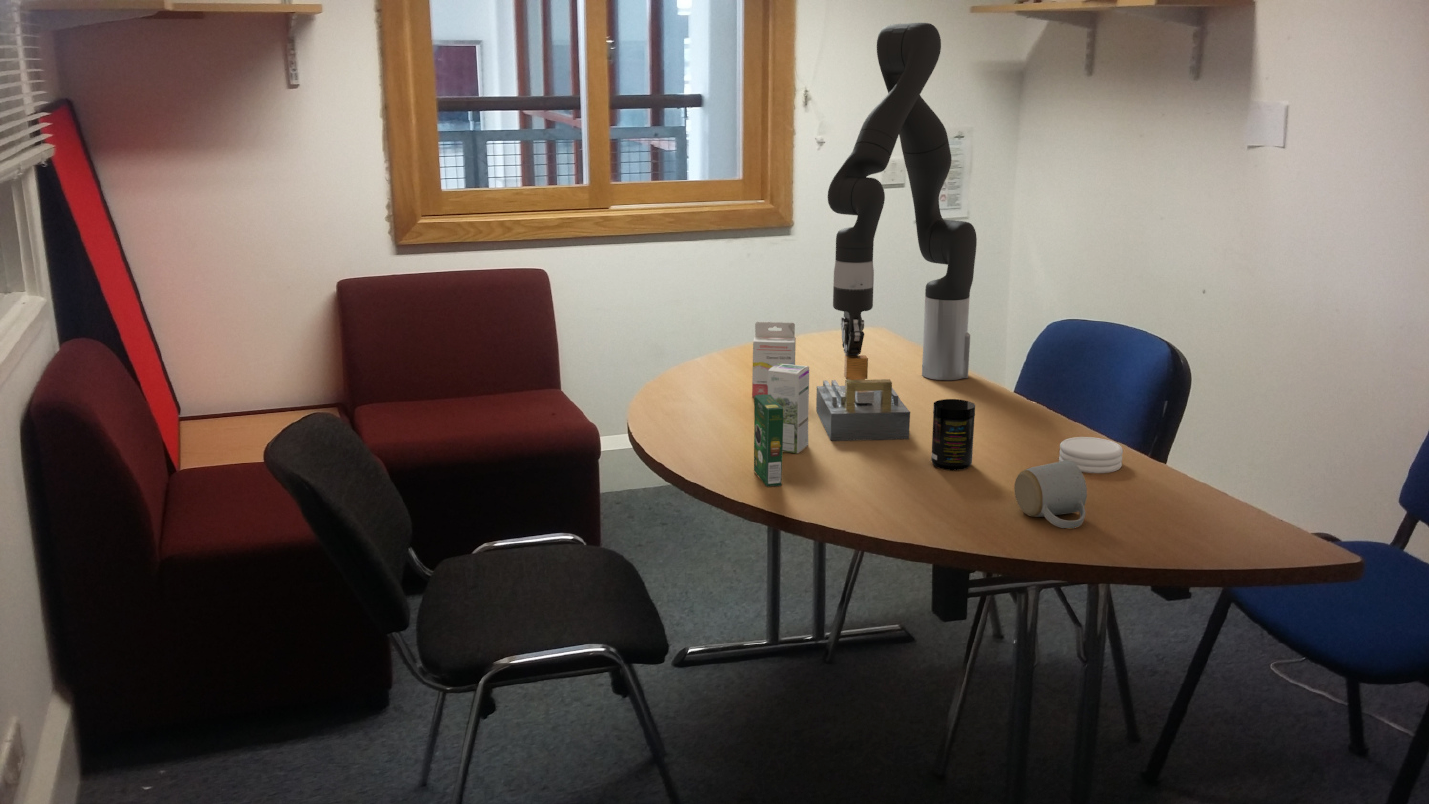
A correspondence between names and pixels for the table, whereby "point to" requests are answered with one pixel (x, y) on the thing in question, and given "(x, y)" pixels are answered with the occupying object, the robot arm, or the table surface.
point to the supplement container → (953, 434)
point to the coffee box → (768, 439)
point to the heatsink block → (862, 411)
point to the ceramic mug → (1052, 492)
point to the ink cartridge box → (771, 352)
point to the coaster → (1092, 454)
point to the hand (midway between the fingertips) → (850, 373)
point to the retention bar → (858, 376)
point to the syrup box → (791, 403)
